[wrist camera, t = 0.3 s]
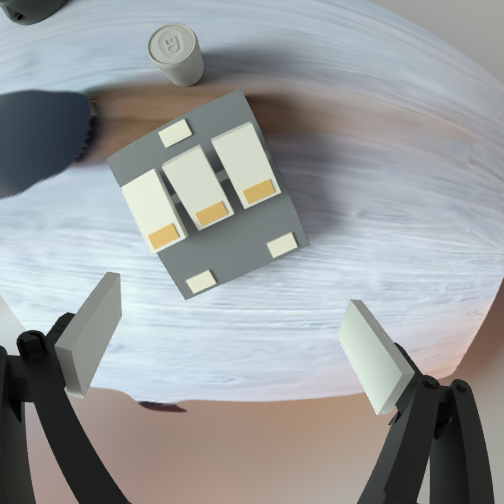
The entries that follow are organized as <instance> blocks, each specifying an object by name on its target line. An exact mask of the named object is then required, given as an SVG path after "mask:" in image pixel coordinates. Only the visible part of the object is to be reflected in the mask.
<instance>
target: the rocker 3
mask: <svg viewBox="0 0 504 504" xmlns="http://www.w3.org/2000/svg"><path fill="white" fill-rule="evenodd" d="M211 142H212V144H213V146H214V148H215V150H216V152H217V154H218V156H219V158H220V160H221V162H222V164H223V166H224V168H225V170H226V172H227V174H228V176H229V178H230V180H231V182H232V184H233V186H234V188H235V190H236V192H237V194H238V196H239V198H240V201H241V203H242V205H243V207H244V209H246V208H248V207H251V206H253V205H255V204H257V203H259V202H261V201H264V200H266V199H268V198H270V197H273V196H275V195H277V194H279V193H281V191H280V188H279V186H278V184H277V181H276V179H275V176H274V174H273V172H272V169H271V167H270V164H269V162H268V160H267V157H266V155H265V153H264V150H263V148H262V146H261V143H260V141H259V139H258V136H257V134H256V132H255V130H254V127H253V125H252V123H250V122H247V123H245V124H242V125H240V126H238V127H236V128H233V129H231V130H229V131H227V132H225V133H223V134H220V135H218V136H216V137H214V138H212V139H211Z"/></svg>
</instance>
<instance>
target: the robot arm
mask: <svg viewBox="0 0 504 504" xmlns="http://www.w3.org/2000/svg"><path fill="white" fill-rule="evenodd" d="M67 1H68V0H0V6H1V8H2V9H3V11H4V12H5V14H6V15H7V17H8V18H9V19H10V20H12V21H13V22H16V23H18V24H21V25H31V24H35V23H37V22H40V21H42V20H44V19H45V18H47V17H49V16H50V15H52V14H53V13H54V12H56V11H57V10H58V9H59V8H61V7H62V6H63V5H64V4H65V3H66V2H67ZM121 317H122V310H121V287H120V274H119V273H112V272H107V273H106V274H105V276H104V277H103V278H102V279H101V281H100V282H99V283H98V285H97V286H96V287H95V289H94V290H93V291H92V293H91V294H90V295H89V297H88V298H87V299H86V301H85V302H84V303H83V305H82V306H81V308H80V309H79V310H78V312H77V313H76V314H73V313H69V312H67V313H66V314H64V315H62V316H61V317H59V319H58V320H57V321H56V323H55V325H53V327H52V328H51V330H50V331H49V332H48V334H47V335H46V336H45V335H44V334H43V333H42V332H40V331H36V330H29V331H26V332H23V333H22V334H21V335H19V337H18V339H17V347H18V350H19V353H20V356H15V355H8V354H7V351H6V350H5V348H4V347H2V346H0V504H36V502H35V497H34V492H33V487H32V481H31V475H30V468H29V461H28V452H27V442H26V427H25V402H34V405H35V408H36V410H37V413H38V416H39V419H40V422H41V424H42V427H43V430H44V432H45V435H46V437H47V439H48V442H49V444H50V447H51V449H52V451H53V454H54V456H55V458H56V460H57V462H58V464H59V467H60V469H61V471H62V473H63V475H64V477H65V479H66V481H67V483H68V484H69V486H70V488H71V490H72V492H73V494H74V495H75V497H76V499H77V501H78V502H79V504H131V503H130V502H129V501H128V500H127V499H126V497H125V496H124V495H123V493H122V492H121V490H120V489H119V488H118V486H117V485H116V483H115V482H114V480H113V479H112V477H111V476H110V474H109V473H108V471H107V470H106V468H105V466H104V465H103V463H102V462H101V460H100V458H99V457H98V455H97V453H96V452H95V450H94V448H93V446H92V445H91V443H90V441H89V439H88V437H87V435H86V434H85V432H84V430H83V428H82V426H81V424H80V422H79V420H78V418H77V416H76V414H75V412H74V410H73V408H72V406H71V404H70V401H69V399H68V397H67V395H66V392H65V390H64V388H65V386H66V388H67V391H68V394H70V395H73V396H76V397H80V398H85V395H86V393H87V391H88V388H89V386H90V384H91V381H92V379H93V377H94V374H95V372H96V370H97V368H98V365H99V363H100V361H101V359H102V356H103V354H104V352H105V350H106V348H107V346H108V344H109V341H110V339H111V337H112V335H113V333H114V331H115V329H116V327H117V325H118V323H119V321H120V319H121ZM337 338H338V340H339V342H340V344H341V346H342V348H343V350H344V351H345V353H346V355H347V357H348V359H349V361H350V363H351V365H352V367H353V369H354V371H355V373H356V375H357V376H358V378H359V380H360V382H361V384H362V386H363V388H364V390H365V392H366V394H367V396H368V398H369V400H370V402H371V404H372V406H373V408H374V410H375V412H376V414H377V415H382V414H389V413H390V412H391V411H392V409H393V407H394V406H395V405H396V407H397V409H398V411H397V413H396V414H395V416H394V417H393V419H392V420H391V421H390V423H389V424H388V425H391V424H392V425H391V428H390V430H389V433H388V436H387V438H386V441H385V443H384V446H383V448H382V451H381V453H380V456H379V458H378V460H377V463H376V465H375V467H374V469H373V472H372V474H371V476H370V478H369V480H368V482H367V484H366V486H365V489H364V491H363V493H362V495H361V497H360V498H359V500H358V502H357V504H418V503H417V497H418V494H419V491H420V488H421V484H422V481H423V477H424V474H425V470H426V466H427V462H428V458H429V456H430V504H495V503H494V495H493V494H494V493H493V485H492V477H491V471H490V465H489V459H488V453H487V449H486V443H485V439H484V434H483V430H482V426H481V422H480V418H479V414H478V410H477V407H476V403H475V399H474V396H473V393H472V389H471V387H470V386H469V385H468V384H467V382H465V381H463V380H460V379H455V380H453V382H452V383H451V385H450V386H441V385H440V384H439V382H438V381H437V380H436V379H435V378H433V377H431V376H428V375H423V374H422V373H421V372H420V370H419V369H418V367H417V366H416V365H415V363H414V362H413V361H412V360H411V358H410V357H409V355H408V354H407V353H406V351H405V350H404V349H403V348H402V347H401V346H400V345H399V344H397V343H393V341H392V340H391V339H390V337H389V336H388V335H387V333H386V332H385V331H384V329H383V328H382V327H381V325H380V324H379V323H378V321H377V320H376V319H375V317H374V316H373V315H372V313H371V312H370V311H369V310H368V308H367V307H366V306H365V304H364V303H363V302H362V301H361V300H351V299H350V302H349V305H348V308H347V311H346V314H345V316H344V319H343V322H342V325H341V327H340V330H339V333H338V335H337ZM451 420H452V421H451Z"/></svg>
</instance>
